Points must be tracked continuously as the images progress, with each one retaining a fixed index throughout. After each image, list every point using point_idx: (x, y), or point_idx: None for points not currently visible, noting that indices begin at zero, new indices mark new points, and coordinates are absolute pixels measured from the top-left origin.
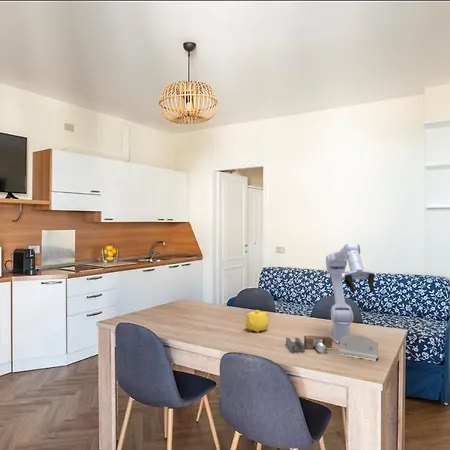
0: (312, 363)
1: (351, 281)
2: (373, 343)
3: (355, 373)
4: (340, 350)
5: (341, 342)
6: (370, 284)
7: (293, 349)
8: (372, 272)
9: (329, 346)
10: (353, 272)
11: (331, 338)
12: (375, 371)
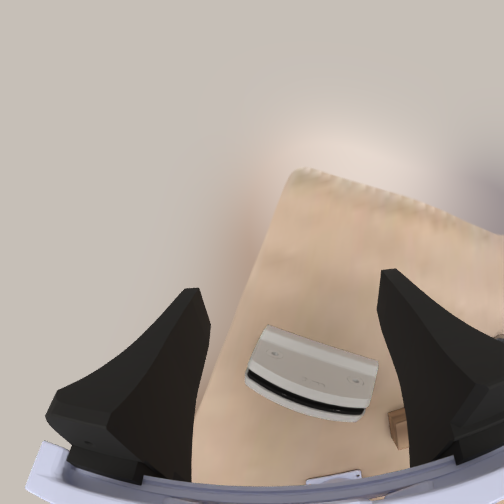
0: (452, 261)
1: (444, 329)
2: (261, 359)
3: (344, 213)
4: (372, 368)
5: (370, 387)
6: (180, 356)
7: (501, 336)
8: (57, 492)
9: (397, 413)
10: (438, 491)
11: (397, 423)
12: (287, 241)
